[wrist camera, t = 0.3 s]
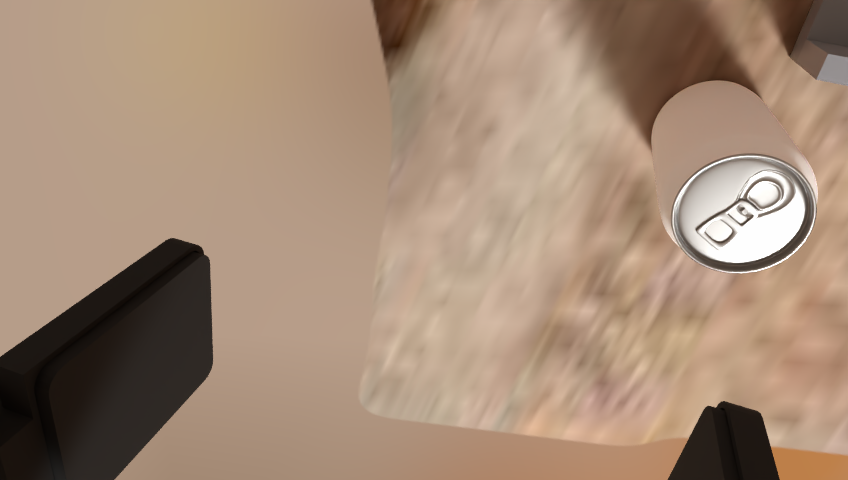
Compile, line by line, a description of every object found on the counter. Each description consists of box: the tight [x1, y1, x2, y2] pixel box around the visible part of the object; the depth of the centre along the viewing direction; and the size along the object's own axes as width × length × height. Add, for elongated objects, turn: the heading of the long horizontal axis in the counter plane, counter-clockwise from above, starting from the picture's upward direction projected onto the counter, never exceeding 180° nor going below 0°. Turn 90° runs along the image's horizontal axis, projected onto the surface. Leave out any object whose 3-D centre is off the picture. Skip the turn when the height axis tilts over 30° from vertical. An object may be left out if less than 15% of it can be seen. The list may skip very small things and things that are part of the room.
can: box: [651, 80, 818, 273], centre depth 31 cm, size 6×6×12 cm
